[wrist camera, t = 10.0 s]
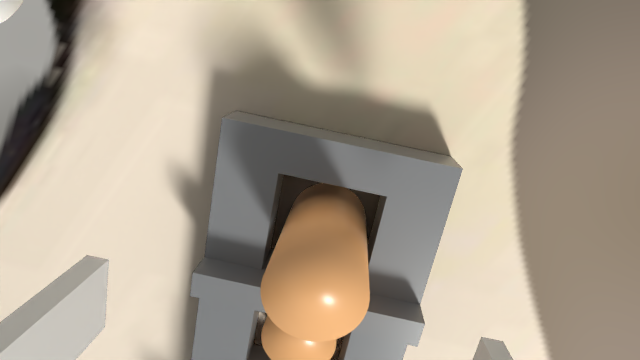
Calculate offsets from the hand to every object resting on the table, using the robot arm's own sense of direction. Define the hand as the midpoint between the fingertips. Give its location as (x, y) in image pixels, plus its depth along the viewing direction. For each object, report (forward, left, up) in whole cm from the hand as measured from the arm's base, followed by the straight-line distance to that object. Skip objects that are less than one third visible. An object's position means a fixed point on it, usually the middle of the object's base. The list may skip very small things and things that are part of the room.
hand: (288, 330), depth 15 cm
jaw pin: (+1, 0, -10) cm, 10 cm away
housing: (0, -3, -10) cm, 11 cm away
